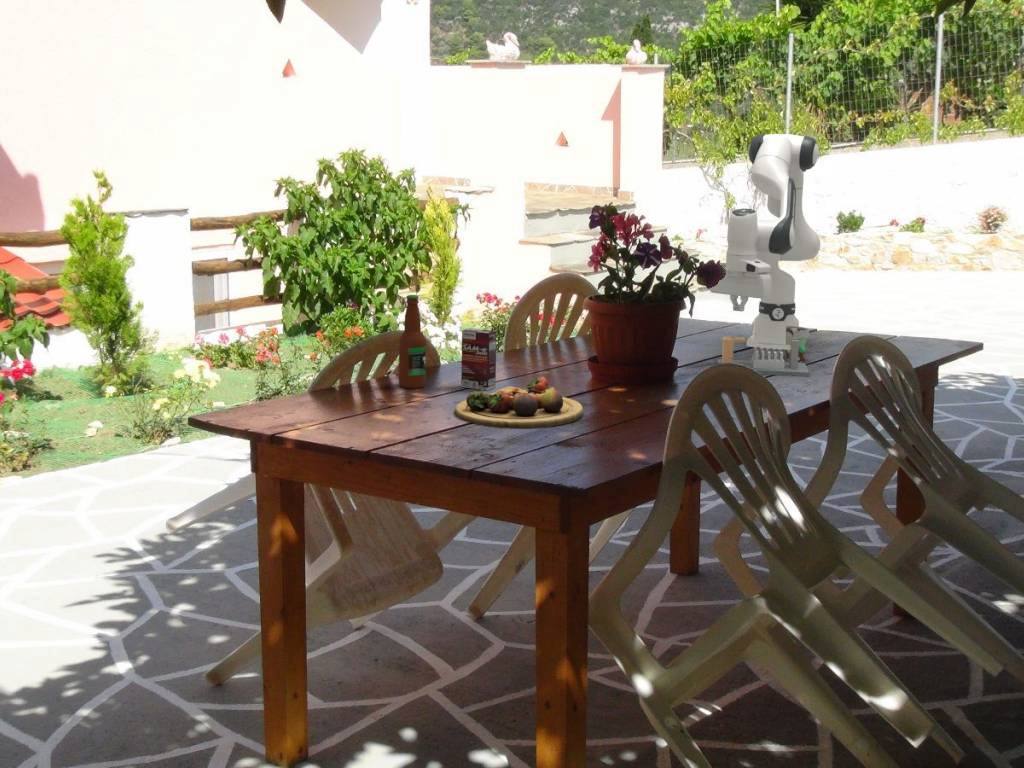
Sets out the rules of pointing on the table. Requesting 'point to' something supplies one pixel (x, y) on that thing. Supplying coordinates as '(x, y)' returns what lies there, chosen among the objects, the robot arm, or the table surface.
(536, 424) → the wooden plate with food
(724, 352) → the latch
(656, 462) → the table surface
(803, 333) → the food container
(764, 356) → the heat sink
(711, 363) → the table surface
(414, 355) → the bottle
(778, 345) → the light grey flat bar
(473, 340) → the supplement box
